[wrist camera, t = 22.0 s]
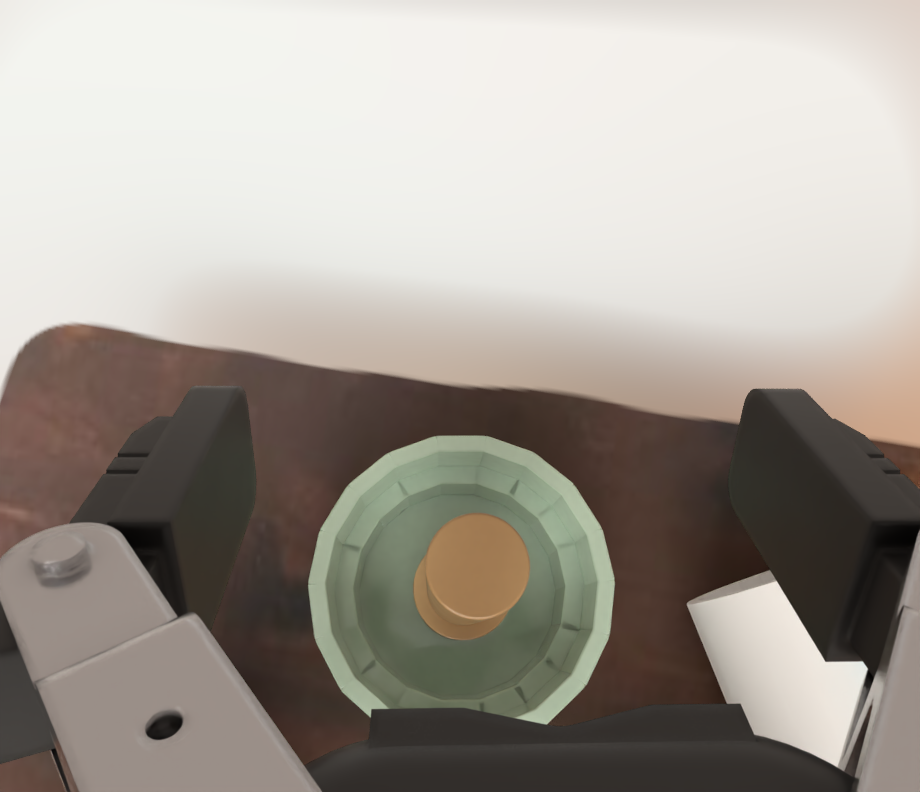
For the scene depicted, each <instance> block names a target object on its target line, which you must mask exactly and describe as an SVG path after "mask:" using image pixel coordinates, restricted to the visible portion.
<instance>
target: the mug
mask: <svg viewBox="0 0 920 792" xmlns="http://www.w3.org/2000/svg"><path fill="white" fill-rule="evenodd" d="M687 607H688V609H689V611H690V614H691V616H692V619H693V621H694V624H695V626H696V629H697V631H698V634H699V636H700V639H701V641H702V643H703V646H704V648H705V651H706V653H707V656H708V658H709V661H710V663H711V666H712V668H713V671H714V673H715V676H716V678H717V680H718V683H719V685H720V688H721V690H722V693H723V695H724V698H725V700H726V703H727V704H739V703H740V704H741V706H742V708H743V710H744V713H745V715H746V717H747V719H748V722H749V724H750V726H751V728H752V731H753V733H754V735H759V736H763V737H767V738H770V739H774V740H777V741H780V742H783V743H787V744H789V745H792V746H794V747H797V748H799V749H802V750H804V751H806V752H809V753H811V754H813V755H815V756H817V757H819V758H821V759H823V760H825V761H827V762H829V763H831V764H833V765H834V766H836V767H838V764H839V761H840V757H841V754H842V750H843V747H844V743H845V740H846V736H847V733H848V729H849V726H850V722H851V719H852V716H853V712H854V709H855V705H856V702H857V698H858V695H859V691H860V688H861V685H862V683H863V680H864V677H865V675H866V672H867V669H868V668H867V667H866V665H865V664H864V662H863V661H861V662H825V660H824V659H823V657H822V655H821V654H820V652H819V650H818V649H817V647H816V645H815V644H814V642H813V640H812V639H811V637H810V635H809V634H808V632H807V630H806V629H805V627H804V625H803V624H802V622H801V621H800V619H799V617H798V616H797V614H796V612H795V611H794V609H793V607H792V606H791V604H790V602H789V601H788V599H787V597H786V596H785V594H784V592H783V591H782V589H781V587H780V586H779V584H778V582H777V581H776V579H775V577H774V576H773V574H772V573H771V571H770V570H769V571H766V572H763V573H760V574H757V575H754V576H751V577H748V578H746V579H743V580H740V581H737V582H734V583H732V584H729V585H726V586H724V587H721V588H718V589H716V590H713V591H711V592H708V593H706V594H704V595H701V596H699V597H697V598H695V599H693V600H691V601H689V602H688V603H687Z"/></svg>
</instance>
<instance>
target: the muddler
mask: <svg viewBox="0 0 920 792" xmlns="http://www.w3.org/2000/svg"><path fill="white" fill-rule="evenodd" d="M529 575H530V559H529V554H528V550H527V547H526V545H525V543H524V541H523V539H522V538H521V536H520V535H519V533H518V532H517V531H516V530H515V529H514V528H513V527H512V526H511V525H510V524H509V523H507V522H506V521H504V520H503V519H501V518H499V517H496V516H494V515H490V514H486V513H468V514H464V515H460V516H458V517H455V518H453V519H452V520H450V521H448V522H447V523H446V524H444V525H443V526H442V527H441V528H440V529H439V530H438V531H437V532H436V534H435V535H434V537H433V538H432V540H431V542H430V544H429V547H428V549H427V553H426V555H425V556H424V557H423V559H422V560H421V562H420V564H419V565H418V568H417V570H416V573H415V577H414V583H413V595H414V601H415V604H416V607H417V610H418V612H419V614H420V616H421V618H422V619H423V621H424V622H425V623H426V625H427V626H428V627H429V628H430V629H432V630H433V631H434V632H435V633H437V634H439V635H441V636H443V637H445V638H449V639H453V640H472V639H476V638H480V637H482V636H484V635H486V634H488V633H490V632H491V631H493V630H494V629H495V628H496V627H497V626H498V625H499V624H500V623H501V622H502V621H503V619H504V618H505V616H506V614H507V612H508V610H509V609H511V608H512V607H513V606H514V605H515V604H516V603H517V602H518V601H519V599H520V598H521V596H522V595H523V593H524V591H525V589H526V586H527V584H528V580H529Z"/></svg>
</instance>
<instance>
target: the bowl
mask: <svg viewBox="0 0 920 792" xmlns="http://www.w3.org/2000/svg"><path fill="white" fill-rule="evenodd" d="M468 513H486V514H490V515H494V516H496V517H499V518H501V519H503V520H504V521H506V522H507V523H509V524H510V525H511V526H512V527H513V528H514V529H515V530H516V531H517V532H518V533H519V535H520V536H521V538H522V539H523V541H524V543H525V545H526V547H527V550H528V554H529V559H530V575H529V580H528V584H527V586H526V589H525V591H524V593H523V595H522V596H521V598H520V599H519V601H518V602H517V603H516V604H515V605H514V606H513V607H512V608H511V609H509V610H508V612H507V614H506V616H505V618H504V619H503V621H502V622H501V623H500V624H499V625H498V626H497V627H496V628H495V629H494V630H493V631H491V632H490V633H488V634H486V635H484V636H482V637H480V638H476V639H472V640H453V639H449V638H445V637H443V636H441V635H439V634H437V633H435V632H434V631H433V630H432V629H430V628H429V627H428V626H427V625H426V623H425V622H424V621H423V619H422V618H421V616H420V614H419V612H418V610H417V607H416V604H415V601H414V595H413V583H414V577H415V573H416V570H417V568H418V565H419V564H420V562H421V560H422V559H423V557H424V556H425V555H426V553H427V549H428V547H429V544H430V542H431V540H432V538H433V537H434V535H435V534H436V532H437V531H438V530H439V529H440V528H441V527H442V526H443V525H444V524H446V523H447V522H448V521H450V520H452V519H453V518H455V517H458V516H460V515H464V514H468ZM614 580H615V578H614V574H613V570H612V566H611V561H610V557H609V553H608V549H607V545H606V541H605V537H604V533H603V530H602V529H601V525H600V524H599V522H598V521H597V519H596V518H595V516H594V514H593V513H592V511H591V510H590V508H589V507H588V505H587V504H586V502H585V500H584V499H583V497H582V496H581V494H580V493H579V491H578V490H577V488H576V486H575V485H573V483H572V482H571V481H570V480H568V479H567V478H566V477H565V476H563V475H562V474H561V473H560V472H558V471H557V470H556V469H555V468H553V467H552V466H551V465H549V464H548V463H547V462H546V461H544V460H543V459H542V458H541V457H539V456H538V455H537V454H536V453H533V452H532V451H529V450H526V449H523V448H521V447H518V446H515V445H512V444H509V443H506V442H503V441H500V440H498V439H495V438H492V437H489V436H486V437H485V436H436V437H435V436H433V437H430V438H428V439H425V440H422V441H419V442H416V443H414V444H411V445H408V446H405V447H402V448H399V449H397V450H394V451H391V452H389V453H387V454H385V455H384V456H383V457H382V458H380V459H379V460H378V461H377V462H375V463H374V464H373V465H372V466H370V467H369V468H368V469H367V470H365V471H364V472H363V473H362V474H360V475H359V476H358V477H357V478H356V479H354V480H353V481H352V482H351V483H349V484H348V486H347V487H346V488H345V490H344V491H343V493H342V495H341V496H340V498H339V500H338V501H337V503H336V504H335V506H334V508H333V509H332V511H331V512H330V514H329V516H328V517H327V519H326V521H325V522H324V524H323V525H322V527H321V529H320V532H319V534H318V539H317V543H316V548H315V552H314V557H313V561H312V566H311V570H310V575H309V580H308V592H309V600H310V608H311V616H312V624H313V632H314V638H315V639H316V640H315V642H316V644H317V646H318V647H319V649H320V651H321V653H322V655H323V657H324V659H325V661H326V663H327V665H328V667H329V669H330V671H331V673H332V675H333V677H334V679H335V681H336V683H337V685H338V687H339V688H340V689H341V691H342V692H343V693H344V694H345V695H346V696H347V697H348V698H349V699H350V700H352V701H353V702H354V703H355V704H356V705H357V706H358V707H359V708H360V709H361V710H363V711H364V712H365V713H366V714H367V715H368V716H369V717H370V718H371V709H402V708H468V709H473V710H478V711H483V712H488V713H492V714H497V715H502V716H507V717H512V718H517V719H522V720H527V721H532V722H536V723H541V724H548V723H549V722H550V721H551V720H552V719H553V718H554V717H555V716H556V715H557V714H558V713H559V712H560V711H561V710H562V709H563V708H564V707H565V706H566V705H567V704H568V703H570V702H571V701H572V700H573V699H574V698H575V697H576V696H577V695H578V694H579V693H580V692H581V691H582V690H583V689H584V688H585V686H586V685H587V683H588V681H589V679H590V677H591V675H592V673H593V671H594V668H595V666H596V664H597V662H598V660H599V658H600V656H601V654H602V652H603V649H604V647H605V645H606V643H607V641H608V639H609V636H608V635H610V630H611V620H612V609H613V599H614V589H615V582H614Z"/></svg>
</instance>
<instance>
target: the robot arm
mask: <svg viewBox="0 0 920 792" xmlns="http://www.w3.org/2000/svg"><path fill="white" fill-rule="evenodd" d="M106 471H107V472H106V474H103V475H102V477H101V478H100V480H99V481H98V483H97V484H96V486H95V487H94V488H93V490H92V491H91V493H90V494H89V496H88V497H87V498H86V500H85V501H84V503H83V504H82V506H81V507H80V509H79V510H78V511H77V513H76V514H75V516H74V517H73V519H72V520H71V521H70V523H69V524H65V525H61V526H56V527H53V528H50V529H46V530H44V531H41V532H39V533H36V534H34V535H32V536H30V537H28V538H26V539H24V540H23V541H21V542H19V543H18V544H16V545H15V546H14V547H12V548H11V549H10V550H8V551H7V552H6V553H5V554H4V555H3V556H2V557H1V559H0V764H2V763H5V762H9V761H12V760H16V759H19V758H23V757H26V756H30V755H33V754H37V753H40V752H44V751H48V750H50V752H51V755H52V757H53V760H54V763H55V765H56V768H57V770H58V773H59V776H60V778H61V781H62V784H63V786H64V789H65V791H66V792H920V489H919V488H918V487H917V486H916V485H915V484H914V483H913V482H912V481H911V480H910V479H909V478H908V477H907V476H905V475H904V474H900V470H899V469H898V468H897V467H896V466H895V465H894V464H893V463H892V462H891V461H890V460H889V459H888V458H884V454H883V453H882V452H881V451H880V450H879V449H878V448H877V447H876V446H875V445H874V444H873V443H872V442H871V441H870V440H869V439H868V438H867V437H866V436H865V435H863V434H861V433H860V432H858V431H856V430H854V429H852V428H851V427H849V426H847V425H845V424H843V423H842V422H840V421H838V420H836V419H832V418H831V417H830V416H828V414H827V413H826V412H825V411H824V410H823V409H822V408H821V407H820V406H819V405H818V404H817V403H816V402H815V401H814V400H813V399H812V398H811V397H810V396H809V395H808V394H807V393H806V392H805V391H804V390H802V389H753V390H751V391H750V392H749V393H748V395H747V397H746V399H745V403H744V406H743V410H742V415H741V419H740V424H739V429H738V433H737V438H736V442H735V447H734V451H733V456H732V460H731V465H730V469H729V476H728V490H729V497H730V501H731V505H732V507H733V509H734V511H735V513H736V515H737V516H738V518H739V520H740V521H741V523H742V525H743V526H744V528H745V530H746V531H747V533H748V534H749V536H750V538H751V539H752V541H753V543H754V544H755V546H756V548H757V549H758V551H759V553H760V554H761V556H762V558H763V559H764V561H765V563H766V564H767V566H768V568H769V569H770V571H771V573H772V574H773V576H774V577H775V579H776V581H777V582H778V584H779V586H780V587H781V589H782V591H783V592H784V594H785V596H786V597H787V599H788V601H789V602H790V604H791V606H792V607H793V609H794V611H795V612H796V614H797V616H798V617H799V619H800V621H801V622H802V624H803V625H804V627H805V629H806V630H807V632H808V634H809V635H810V637H811V639H812V640H813V642H814V644H815V645H816V647H817V649H818V650H819V652H820V654H821V655H822V657H823V659H824V660H825V662H861V661H863V662H864V664H865V665H866V667H867V668H868V669H867V672H866V675H865V677H864V680H863V683H862V685H861V688H860V691H859V695H858V698H857V702H856V705H855V709H854V712H853V716H852V719H851V722H850V726H849V729H848V733H847V736H846V740H845V743H844V747H843V750H842V754H841V757H840V761H839V764H838V767H836V766H834V765H833V764H831V763H829V762H827V761H825V760H823V759H821V758H819V757H817V756H815V755H813V754H811V753H809V752H806V751H804V750H802V749H799V748H797V747H794V746H792V745H789V744H787V743H783V742H780V741H777V740H774V739H770V738H767V737H763V736H759V735H754V733H753V731H752V728H751V726H750V724H749V722H748V719H747V717H746V715H745V713H744V710H743V708H742V706H741V704H740V703H739V704H672V705H649V706H645V707H641V708H637V709H633V710H629V711H625V712H621V713H617V714H613V715H609V716H606V717H602V718H598V719H594V720H590V721H586V722H582V723H578V724H574V725H570V726H551V725H546V724H541V723H536V722H532V721H527V720H522V719H517V718H512V717H507V716H502V715H497V714H492V713H488V712H483V711H478V710H473V709H468V708H402V709H371V720H370V733H369V739H368V740H364V741H360V742H357V743H353V744H350V745H347V746H345V747H342V748H339V749H337V750H334V751H331V752H329V753H327V754H325V755H323V756H321V757H319V758H317V759H315V760H313V761H311V762H309V763H308V764H306V765H305V766H304V765H303V764H302V762H301V761H300V759H299V758H298V757H297V755H296V754H295V752H294V751H293V749H292V748H291V747H290V745H289V744H288V742H287V741H286V739H285V738H284V737H283V735H282V734H281V732H280V731H279V729H278V728H277V727H276V725H275V724H274V722H273V721H272V720H271V718H270V717H269V715H268V714H267V712H266V711H265V710H264V708H263V707H262V705H261V704H260V702H259V701H258V700H257V698H256V697H255V695H254V694H253V692H252V691H251V690H250V688H249V687H248V685H247V684H246V683H245V681H244V680H243V678H242V677H241V675H240V674H239V673H238V671H237V670H236V668H235V667H234V665H233V664H232V663H231V661H230V660H229V658H228V657H227V655H226V654H225V653H224V651H223V650H222V648H221V647H220V646H219V644H218V643H217V641H216V640H215V638H214V637H213V636H212V634H211V633H210V631H211V629H212V626H213V623H214V620H215V617H216V614H217V611H218V609H219V606H220V603H221V600H222V597H223V594H224V591H225V589H226V586H227V583H228V580H229V577H230V574H231V571H232V569H233V566H234V563H235V560H236V557H237V554H238V551H239V548H240V546H241V543H242V540H243V537H244V534H245V531H246V528H247V526H248V523H249V520H250V517H251V514H252V511H253V508H254V503H255V495H256V470H255V461H254V453H253V445H252V437H251V428H250V420H249V412H248V404H247V398H246V394H245V391H244V389H243V387H242V386H193V387H191V388H190V390H189V391H188V393H187V395H186V396H185V398H184V399H183V401H182V403H181V404H180V406H179V407H178V409H177V411H176V412H175V414H174V415H173V417H156V418H154V419H153V420H151V421H150V422H148V423H147V424H145V425H144V426H142V427H141V428H139V429H138V430H136V431H135V432H133V433H132V434H131V435H130V437H129V438H128V440H127V441H126V442H125V444H124V445H123V447H122V448H121V450H120V451H119V452H118V457H115V458H114V460H113V461H112V463H111V464H110V465H109V467H108V468H107V470H106Z"/></svg>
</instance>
